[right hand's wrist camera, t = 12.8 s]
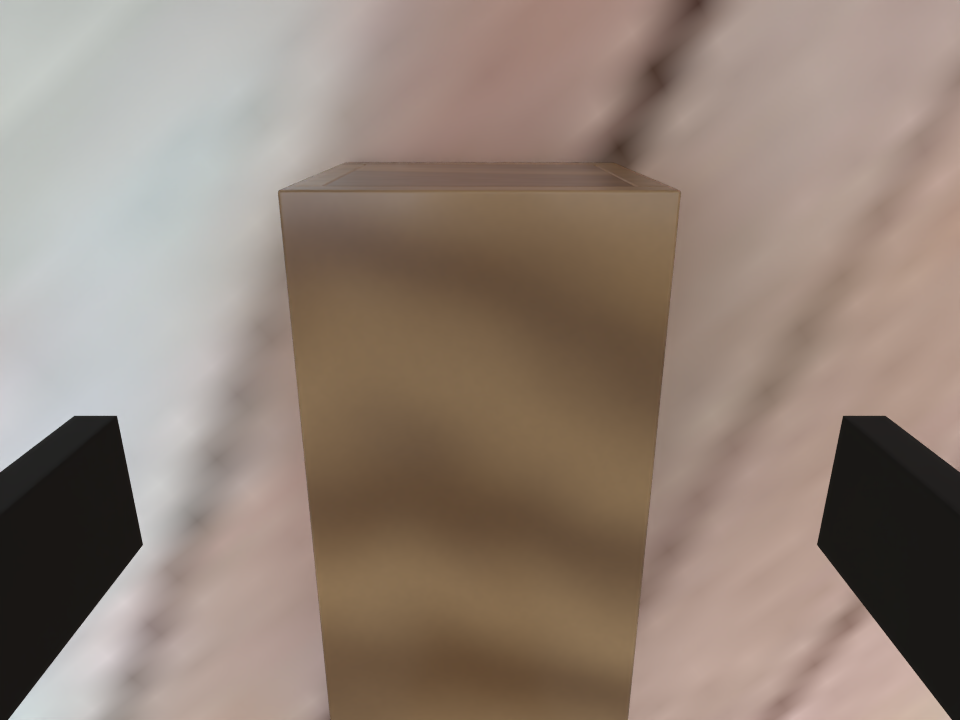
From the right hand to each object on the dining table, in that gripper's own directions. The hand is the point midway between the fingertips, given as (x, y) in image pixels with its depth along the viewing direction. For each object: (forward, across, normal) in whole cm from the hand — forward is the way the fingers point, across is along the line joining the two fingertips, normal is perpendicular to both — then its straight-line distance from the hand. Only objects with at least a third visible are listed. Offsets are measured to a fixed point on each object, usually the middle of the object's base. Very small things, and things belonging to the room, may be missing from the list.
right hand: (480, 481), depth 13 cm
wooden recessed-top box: (+16, 0, -6) cm, 17 cm away
